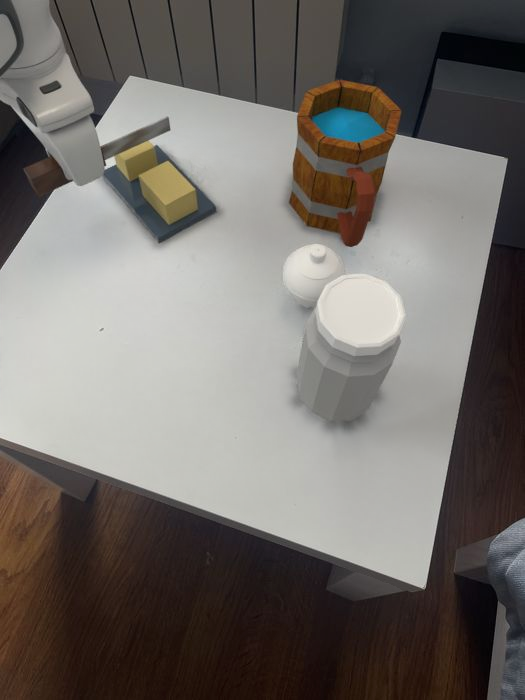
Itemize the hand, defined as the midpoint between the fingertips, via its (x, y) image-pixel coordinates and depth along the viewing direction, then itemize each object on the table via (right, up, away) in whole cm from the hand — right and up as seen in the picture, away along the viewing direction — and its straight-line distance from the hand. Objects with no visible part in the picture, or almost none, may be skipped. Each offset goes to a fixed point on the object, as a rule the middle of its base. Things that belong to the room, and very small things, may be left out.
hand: (64, 167), depth 71 cm
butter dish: (+11, -1, +9) cm, 14 cm away
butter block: (+13, -3, +7) cm, 15 cm away
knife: (+4, +2, +3) cm, 5 cm away
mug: (+37, -4, +9) cm, 38 cm away
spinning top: (+32, -19, +1) cm, 37 cm away
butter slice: (+7, +4, +10) cm, 13 cm away
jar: (+35, -29, -5) cm, 46 cm away
